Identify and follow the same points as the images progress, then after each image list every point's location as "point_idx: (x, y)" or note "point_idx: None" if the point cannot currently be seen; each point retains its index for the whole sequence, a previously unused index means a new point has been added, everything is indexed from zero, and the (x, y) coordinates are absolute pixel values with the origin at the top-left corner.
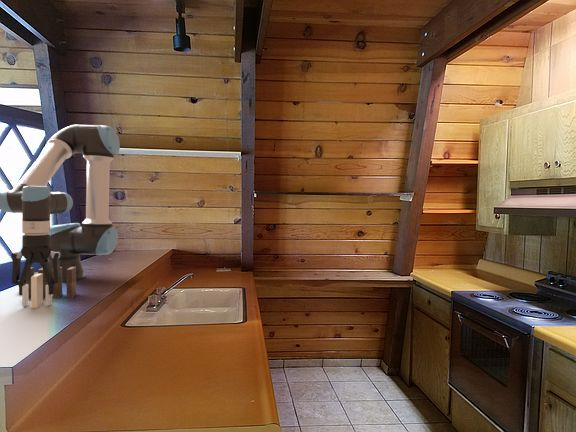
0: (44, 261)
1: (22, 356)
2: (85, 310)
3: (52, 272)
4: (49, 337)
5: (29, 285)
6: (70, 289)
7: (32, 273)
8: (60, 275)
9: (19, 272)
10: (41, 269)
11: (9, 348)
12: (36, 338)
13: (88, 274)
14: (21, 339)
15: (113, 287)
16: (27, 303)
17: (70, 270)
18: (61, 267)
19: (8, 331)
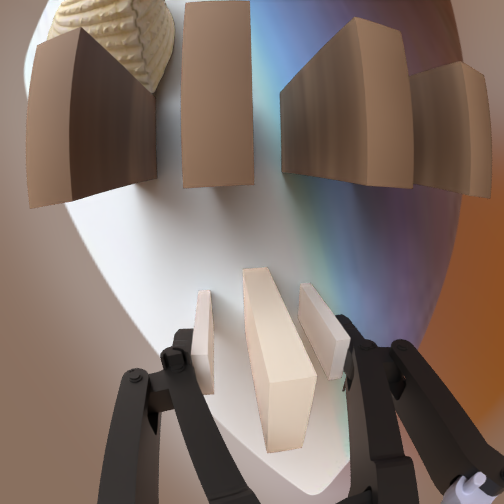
0: (381, 486)
1: (324, 488)
2: (416, 346)
3: (350, 180)
4: (348, 461)
5: (134, 162)
6: None
7: (100, 85)
8: (425, 362)
9: (143, 432)
10: (221, 156)
11: (301, 484)
12: (330, 466)
13: None
14: (308, 472)
15: (454, 49)
16: (211, 304)
17: (479, 196)
18: (405, 56)
19: (272, 461)
